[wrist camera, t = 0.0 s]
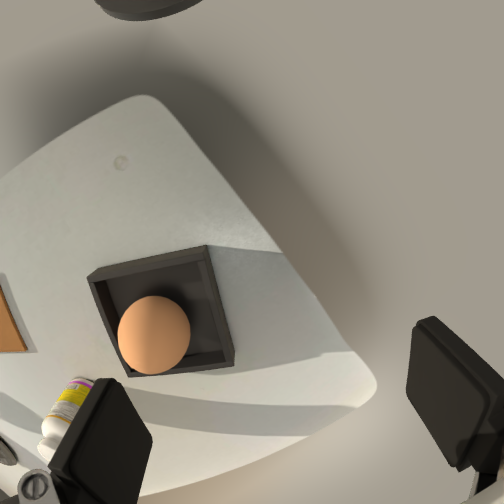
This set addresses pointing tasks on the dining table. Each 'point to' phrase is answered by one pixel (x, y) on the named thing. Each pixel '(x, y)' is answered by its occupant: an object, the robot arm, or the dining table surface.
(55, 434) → the supplement bottle
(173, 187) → the dining table surface
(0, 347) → the plate
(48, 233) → the dining table surface
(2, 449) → the flying saucer
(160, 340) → the egg
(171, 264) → the tray
